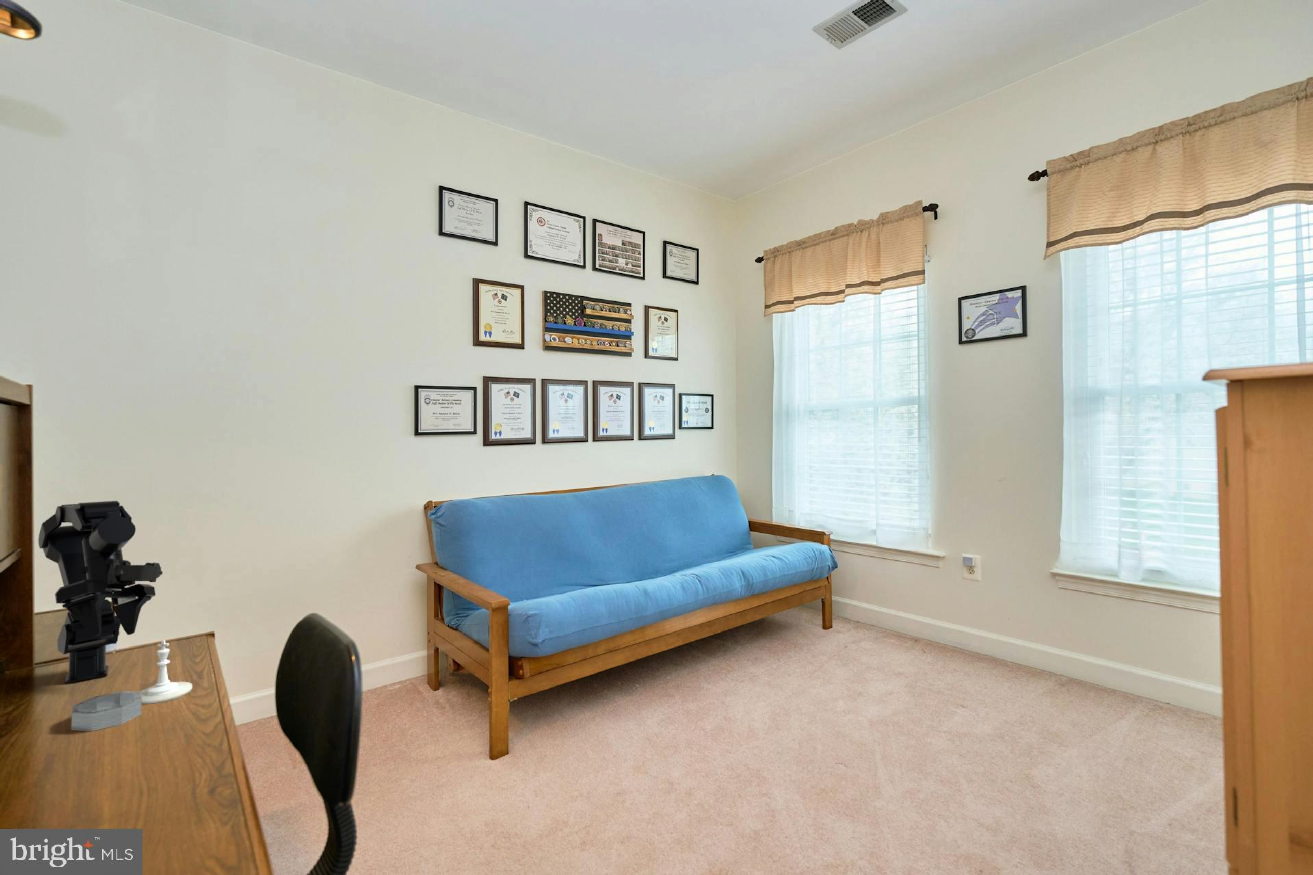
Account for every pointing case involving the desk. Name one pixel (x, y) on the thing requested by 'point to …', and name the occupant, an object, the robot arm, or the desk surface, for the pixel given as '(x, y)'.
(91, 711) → the ring collar
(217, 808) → the desk surface
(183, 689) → the felt pad
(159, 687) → the chess piece
